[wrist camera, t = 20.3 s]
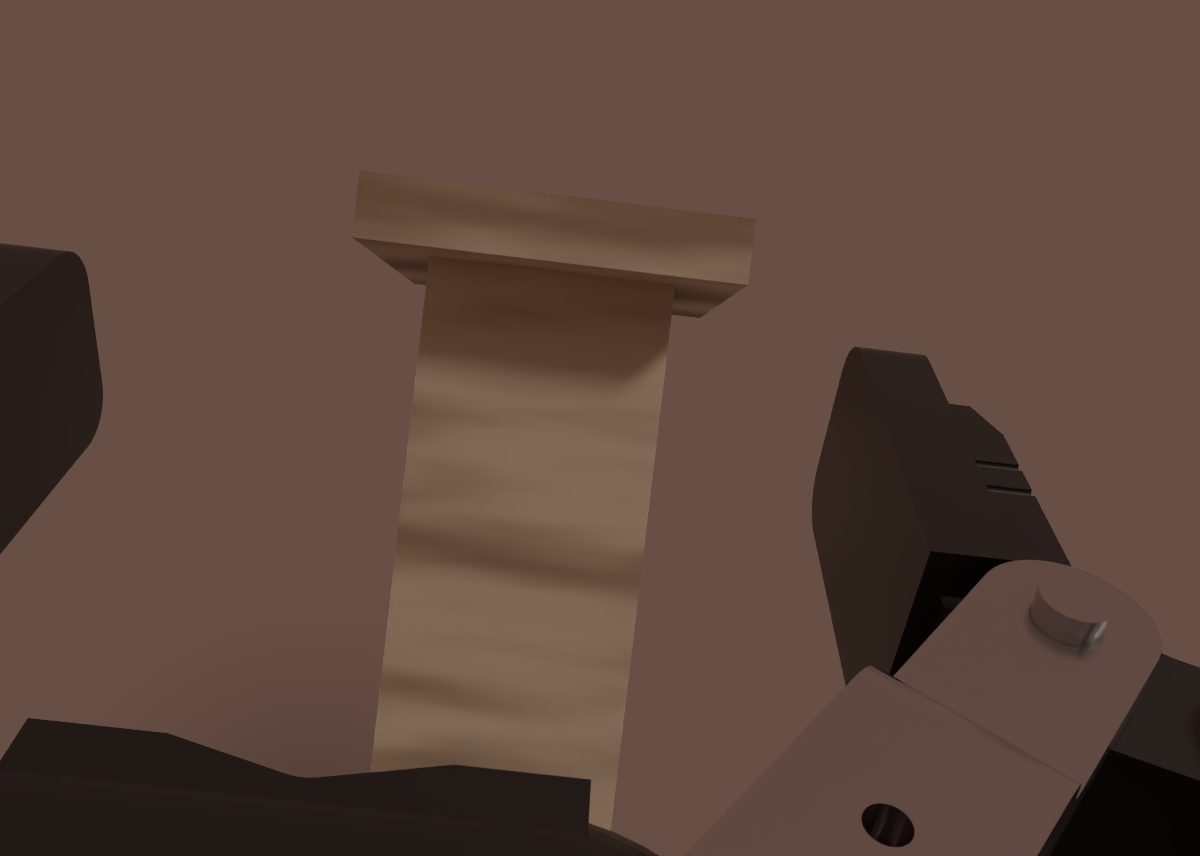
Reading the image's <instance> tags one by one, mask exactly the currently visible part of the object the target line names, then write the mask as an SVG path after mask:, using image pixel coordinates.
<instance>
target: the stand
mask: <svg viewBox="0 0 1200 856" xmlns="http://www.w3.org/2000/svg"><path fill="white" fill-rule="evenodd" d="M755 222H756V219H751V218H743V217H734V216H726V215H718V214H710V213H702V212H693V211H685V210H677V209H669V208H661V207H652V206H644V205H636V204H628V203H619V202H611V201H603V200H595V199H586V198H579V197H570V196H562V195H554V194H546V193H538V192H529V191H521V190H512V189H505V188H496V187H488V186H480V185H471V184H464V183H456V182H447V181H439V180H431V179H423V178H414V177H406V176H398V175H390V174H382V173H374V172H365V171H360V172H359V181H358V190H357V199H356V207H355V216H354V226H353V234H352V238H354V239H355V240H356V241H358V242H359V243H360V244H362V245H363V246H364V247H366V248H367V249H369V250H370V251H371V252H372V253H374V254H375V255H377V256H378V257H379V258H381V259H382V260H383V261H385V262H386V263H387V264H389V265H390V266H391V267H393V268H394V269H395V270H397V271H398V272H399V273H401V274H402V275H403V276H405V277H406V278H407V279H409V280H410V281H411V282H413V283H414V284H421V285H426V291H425V300H424V308H423V317H422V327H421V335H420V343H419V352H418V361H417V370H416V379H415V387H414V396H413V405H412V413H411V423H410V431H409V440H408V449H407V458H406V467H405V476H404V483H403V493H402V502H401V510H400V519H399V527H398V536H397V546H396V554H395V563H394V571H393V580H392V589H391V597H390V606H389V615H388V624H387V632H386V641H385V650H384V659H383V667H382V676H381V685H380V694H379V703H378V712H377V721H376V729H375V738H374V746H373V755H372V764H371V772H381V771H392V770H402V769H413V768H423V767H434V766H444V765H463V766H472V767H481V768H490V769H499V770H508V771H518V772H527V773H536V774H545V775H554V776H563V777H573V778H582V779H591V791H590V808H589V823H590V824H593V825H596V826H599V827H601V828H604V829H607V830H609V831H611V823H612V815H613V806H614V798H615V789H616V781H617V771H618V764H619V755H620V747H621V737H622V730H623V721H624V713H625V705H626V696H627V688H628V679H629V671H630V663H631V654H632V646H633V637H634V628H635V620H636V612H637V602H638V595H639V586H640V578H641V569H642V560H643V553H644V544H645V536H646V527H647V519H648V510H649V502H650V494H651V485H652V477H653V467H654V460H655V451H656V443H657V434H658V426H659V418H660V409H661V401H662V392H663V384H664V375H665V366H666V358H667V350H668V342H669V333H670V325H671V316H672V315H680V316H688V317H696V318H700V317H702V316H704V315H705V314H706V313H708V312H709V311H711V310H712V309H714V308H715V307H717V306H718V305H720V304H721V303H722V302H724V301H725V300H727V299H728V298H730V297H731V296H733V295H734V294H736V293H737V292H739V291H740V290H741V289H743V288H744V287H746V286H747V285H748V281H749V272H750V263H751V256H752V247H753V239H754V230H755Z"/></svg>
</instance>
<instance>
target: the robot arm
mask: <svg viewBox="0 0 1200 856" xmlns="http://www.w3.org/2000/svg"><path fill="white" fill-rule="evenodd" d="M102 402H103V387H102V378H101V371H100V364H99V357H98V350H97V342H96V335H95V328H94V320H93V313H92V305H91V297H90V291H89V283H88V277H87V273H86V269H85V267H84V264H83V262H82V260H81V259H80V257H79V256H78V255H77V254H75V253H73V252H68V251H61V250H52V249H44V248H35V247H26V246H19V245H10V244H2V243H0V554H1V552H2V551H3V550H4V549H5V548H6V546H7V545H8V544H9V542H10V541H11V540H12V539H13V538H14V537H15V535H16V534H17V533H18V532H19V530H20V529H21V528H22V527H23V525H24V524H25V523H26V522H27V521H28V519H29V518H30V517H31V516H32V514H33V513H34V512H35V511H36V509H37V508H38V507H39V506H40V505H41V503H42V502H43V501H44V500H45V498H46V497H47V496H48V495H49V494H50V492H51V491H52V490H53V489H54V487H55V486H56V485H57V484H58V483H59V481H60V480H61V479H62V478H63V476H64V475H65V474H66V473H67V471H68V470H69V469H70V468H71V467H72V465H73V464H74V463H75V461H76V460H77V459H78V458H79V457H80V455H81V454H82V453H83V452H84V451H85V449H86V448H87V447H88V446H89V444H90V443H91V441H92V439H93V437H94V435H95V433H96V430H97V428H98V424H99V421H100V416H101V411H102ZM1018 466H1019V465H1018V463H1017V461H1016V459H1015V457H1014V455H1013V453H1012V451H1011V449H1010V447H1009V445H1008V443H1007V441H1006V439H1005V438H1004V436H1003V434H1002V433H1000V432H999V431H998V430H997V429H996V428H994V427H993V426H992V425H990V423H988V422H987V421H986V420H985V419H984V418H983V417H982V416H980V415H979V414H978V413H977V412H976V411H975V410H973V409H972V408H971V407H970V406H962V405H953V404H949V403H948V401H947V399H946V397H945V395H944V393H943V390H942V388H941V386H940V384H939V382H938V379H937V377H936V375H935V373H934V371H933V368H932V366H931V364H930V362H929V360H928V358H927V357H926V356H925V355H919V354H910V353H902V352H893V351H885V350H876V349H868V348H860V347H854V348H853V349H852V350H851V351H850V352H849V354H848V356H847V358H846V361H845V364H844V367H843V370H842V374H841V378H840V382H839V386H838V390H837V394H836V397H835V402H834V405H833V409H832V413H831V418H830V421H829V425H828V429H827V433H826V437H825V440H824V445H823V448H822V452H821V456H820V460H819V464H818V468H817V472H816V477H815V482H814V490H813V499H812V525H813V532H814V537H815V541H816V546H817V551H818V556H819V560H820V565H821V570H822V575H823V580H824V584H825V589H826V594H827V599H828V603H829V608H830V613H831V618H832V623H833V627H834V632H835V637H836V642H837V646H838V651H839V656H840V660H841V666H842V670H843V675H844V680H845V685H846V686H845V687H844V688H843V689H842V690H841V692H840V693H839V694H838V695H837V696H836V697H835V698H834V699H833V700H832V701H831V702H830V703H829V704H828V705H827V706H826V707H825V708H824V709H823V710H822V711H821V712H820V713H819V715H818V716H817V717H816V718H815V719H814V720H813V721H812V722H811V723H810V724H809V725H808V726H807V727H806V728H805V729H804V730H803V731H802V732H801V733H800V734H799V735H798V737H797V738H796V739H795V740H794V741H793V742H792V743H791V744H790V745H789V746H788V747H787V748H786V749H785V750H784V751H783V752H782V753H781V754H780V755H779V756H778V757H777V758H776V759H775V761H774V762H773V763H772V764H771V765H770V766H769V767H768V768H767V769H766V770H765V771H764V772H763V773H762V774H761V775H760V776H759V777H758V778H757V780H756V781H755V782H754V783H753V784H752V785H751V786H750V787H749V788H748V789H747V790H746V791H745V792H744V793H743V794H742V795H741V796H740V797H739V798H738V799H737V800H736V802H734V803H733V804H732V806H731V807H730V808H729V809H728V810H727V811H726V812H725V813H724V814H723V815H722V816H721V817H720V818H719V819H718V820H717V821H716V822H715V823H714V824H713V825H712V827H711V828H710V829H709V830H708V831H707V832H706V833H705V834H704V835H703V836H702V837H701V838H700V839H699V840H698V841H697V842H696V843H695V844H694V845H693V846H692V847H691V849H689V851H688V852H687V853H686V854H685V855H684V856H1200V668H1199V667H1196V666H1193V665H1190V664H1187V663H1184V662H1182V661H1179V660H1176V659H1174V658H1171V657H1169V656H1167V655H1164V654H1162V653H1161V652H1162V640H1161V637H1160V633H1159V631H1158V629H1157V627H1156V625H1155V623H1154V622H1153V620H1152V619H1151V618H1150V616H1149V615H1148V614H1147V612H1146V611H1145V610H1144V609H1143V608H1142V607H1141V606H1140V605H1139V604H1138V603H1137V602H1136V601H1134V600H1133V599H1132V598H1131V597H1129V596H1128V595H1127V594H1126V593H1124V592H1123V591H1121V590H1120V589H1118V588H1117V587H1115V586H1113V585H1112V584H1110V583H1108V582H1106V581H1105V580H1103V579H1101V578H1099V577H1097V576H1094V575H1092V574H1090V573H1088V572H1085V571H1083V570H1080V569H1077V568H1074V567H1071V565H1070V563H1069V561H1068V559H1067V557H1066V555H1065V553H1064V551H1063V549H1062V547H1061V545H1060V544H1059V542H1058V540H1057V538H1056V536H1055V534H1054V532H1053V530H1052V528H1051V526H1050V524H1049V523H1048V521H1047V518H1046V517H1045V515H1044V513H1043V511H1042V509H1041V507H1040V505H1039V503H1038V501H1037V499H1036V497H1035V496H1031V491H1032V490H1031V488H1030V486H1029V484H1028V482H1027V480H1026V478H1025V476H1024V474H1023V472H1022V471H1018ZM590 791H591V779H582V778H573V777H563V776H554V775H545V774H536V773H527V772H518V771H508V770H499V769H490V768H481V767H472V766H463V765H444V766H434V767H423V768H413V769H402V770H392V771H381V772H371V773H361V774H350V775H340V776H329V777H319V778H303V777H295V776H291V775H288V774H285V773H282V772H278V771H276V770H273V769H270V768H267V767H264V766H261V765H258V764H255V763H253V762H250V761H247V760H244V759H241V758H238V757H235V756H232V755H229V754H226V753H223V752H220V751H218V750H215V749H211V748H209V747H206V746H203V745H200V744H197V743H194V742H191V741H188V740H186V739H183V738H180V737H177V736H174V735H171V734H168V733H160V732H151V731H142V730H132V729H123V728H113V727H105V726H95V725H86V724H76V723H68V722H59V721H49V720H40V719H31V718H28V719H27V721H26V722H25V724H24V725H23V727H22V728H21V730H20V731H19V733H18V734H17V736H16V737H15V739H14V741H13V742H12V744H11V745H10V747H9V748H8V750H7V751H6V753H5V754H4V756H3V758H2V759H1V761H0V856H659V855H657V854H655V853H654V852H652V851H650V850H649V849H647V848H645V847H644V846H642V845H640V844H638V843H636V842H633V841H631V840H629V839H627V838H625V837H623V836H621V835H619V834H616V833H614V832H612V831H609V830H607V829H604V828H601V827H599V826H596V825H593V824H590V823H589V808H590Z"/></svg>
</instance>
